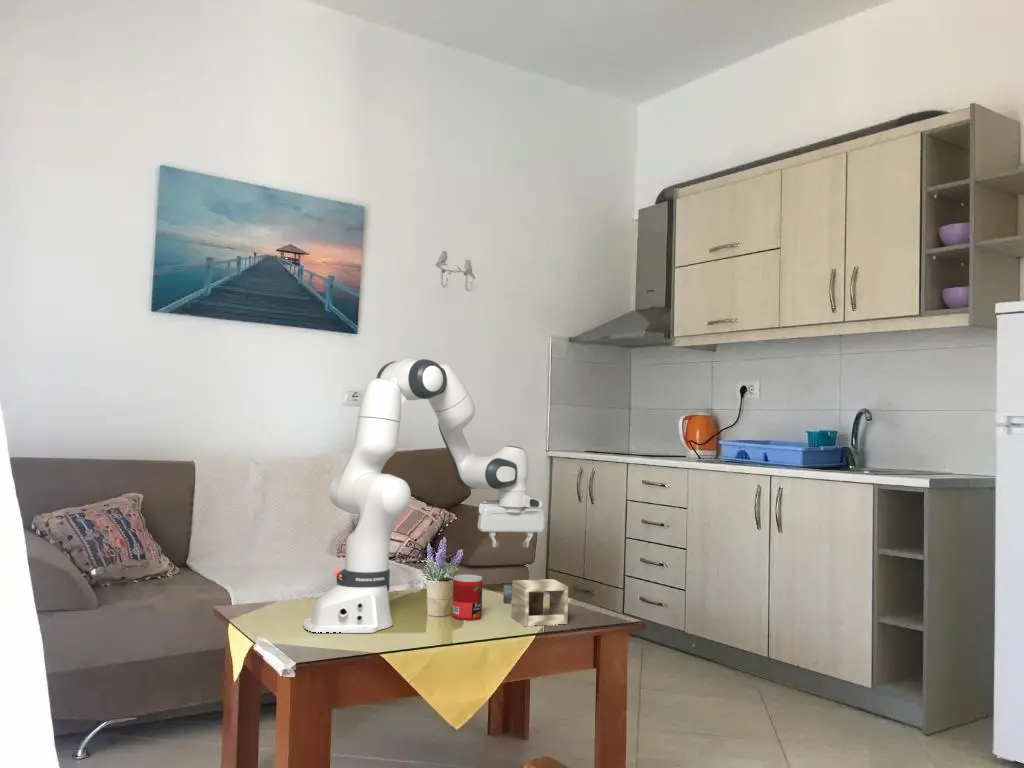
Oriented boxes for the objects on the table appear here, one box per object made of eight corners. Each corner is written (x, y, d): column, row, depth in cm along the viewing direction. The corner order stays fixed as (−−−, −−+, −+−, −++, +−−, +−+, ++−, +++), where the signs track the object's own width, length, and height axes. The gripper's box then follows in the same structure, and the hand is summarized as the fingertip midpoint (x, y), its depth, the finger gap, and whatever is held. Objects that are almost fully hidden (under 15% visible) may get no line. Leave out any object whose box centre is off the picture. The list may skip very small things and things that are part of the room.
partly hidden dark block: (523, 615, 236) (523, 593, 236) (498, 601, 254) (498, 581, 254) (543, 614, 238) (543, 592, 238) (516, 600, 256) (517, 580, 256)
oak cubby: (524, 626, 222) (525, 587, 223) (511, 617, 233) (512, 580, 233) (567, 624, 226) (568, 586, 227) (552, 615, 236) (553, 579, 237)
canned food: (477, 622, 226) (479, 580, 227) (448, 619, 228) (450, 578, 229) (484, 616, 234) (485, 575, 234) (456, 614, 235) (457, 573, 236)
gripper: (481, 500, 249) (479, 548, 248) (547, 502, 255) (545, 548, 254) (476, 499, 255) (473, 545, 254) (540, 500, 261) (538, 546, 260)
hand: (510, 547), depth 254 cm, fingers open, 8 cm apart
